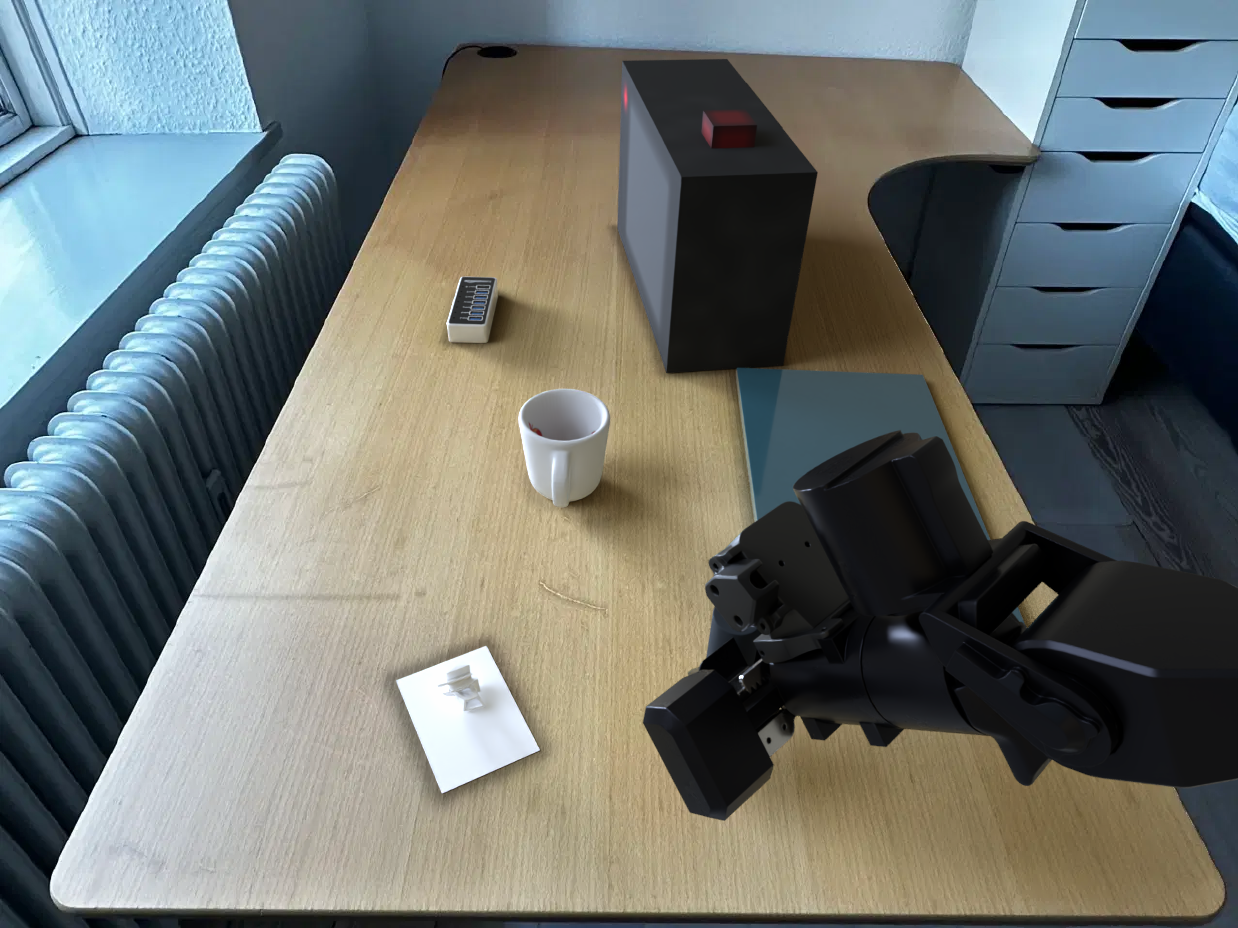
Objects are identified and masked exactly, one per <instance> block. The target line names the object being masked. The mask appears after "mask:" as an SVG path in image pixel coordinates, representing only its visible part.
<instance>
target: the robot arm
mask: <svg viewBox="0 0 1238 928" xmlns="http://www.w3.org/2000/svg"><path fill="white" fill-rule="evenodd" d="M793 490H794V492H795V494H796V496H797V498H798V500H799V502H800V504H801V505H800V504H798V503H796V502H791V501H788V502H784V503H782V504H780V505H779V506H777V507H776V508H774V509H773V510H771V511H770V512H769V513H767V514H766V515H764V516H763V517H761V518H760V519H758V520H757V521H754V522H753V523H751V524H750V525H748V526H747V527H745V528H744V529H742V531H741V532H739V534H738V535H736V537H735V538H734V539H732V541H730V543H728V544H727V546H726V547H724V548H723V549H722V550H720V551H719V552H718V553H716V554H715V555H713V556H712V557H710V558H709V559H708V567H709V569H710V570H711V572H712V573H713V576H712V577H711V578H710V579H709V580H708V581H707V582H706V583H704V591H705V594H706V597H707V599H708V600H709V602H711V604H712V605H713V607H715V608H716V609H717V610H718V612H719V613H720V614H721V615H722V617H723V618H724V619H725V621H726V622H727V623H728V625H729V626H730V627H731V628H732V629H734V630H736V631H739V632H744V631H745V630H746V629H748V628H749V627H750V626H752V627H756V628H757V629H758V630H759V631H760V636H759V637H757V638H756V639H755V640H754V641H753V642H754V644H755V646H756V648H757V651H756V656H755V661H754V665H753V666H751V667H749V666H748V664H747V662H746V660H745V658H744V656H743V654H742V653H741V651H740V649H739V647H738V645H737V643H736V641H735V639H734V638H731V639H730V640H729V641H727V642H726V643H725V644H724V645H722V646H721V647H720V648H718V649H717V650H716V651H715V652H713V653H712V654H711V655H709V656H708V657H707V658H706V657H705V658H704V659H703V660H702V661H700V664H699V665H698V666H697V667H694V668H691V669H690V670H689V671H687V675H685V676H684V677H682V678H681V679H680V680H678V681H677V682H675V683H674V684H673V685H671V687H669V688H668V689H666V690H665V691H664V692H663V693H661V694H660V695H659V696H657V697H656V698H654V699H653V700H652V701H651V702H650V703H647V705H646V706H645V709H644V714H643V720H642V725H643V726H644V728H645V730H646V733H647V734H648V736H649V738H650V740H651V741H652V743H653V745H654V748H655V749H656V751H657V753H658V754H659V757H660V759H661V762H663V764H664V766H665V769H666V770H667V772H668V774H669V776H670V778H671V780H672V782H673V783H674V785H675V787H676V790H677V791H678V793H679V795H680V797H681V799H682V802H683V803H684V805H685V806H686V808H687V811H688V813H690V814H693V815H697V816H702V817H705V818H709V819H713V820H718V821H724V822H725V821H726V820H727V819H728V818H729V817H731V816H732V815H733V814H734V813H735V812H736V811H737V810H738V809H739V808H740V807H741V806H743V804H744V803H746V802H747V801H748V800H749V799H750V798H751V797H753V795H755V793H756V792H758V791H759V790H760V789H761V788H762V787H763V786H764V785H765V784H766V783H767V782H768V781H769V780H770V779H771V777H772V773H773V769H774V766H775V764H774V762H773V760H772V758H771V757H772V756H773V755H774V754H775V753H776V752H778V750H780V749H781V748H782V747H783V746H784V745H785V744H786V743H787V742H788V741H790V740H791V739H792V737H793V736H794V734H795V730H796V725H795V720H796V718H797V717H800V720H801V721H802V724H803V726H804V728H805V729H806V731H807V733H808V735H809V737H810V739H811V740H816V741H826V740H828V738H829V737H831V736H832V735H833V734H834V733H835V732H836V731H837V730H838V729H839V728H840V727H841V726H842V725H849V726H860V729H861V730H862V732H863V733H864V735H865V737H866V739H867V742H868V744H869V745H870V746H872V747H880V748H887V747H888V746H889V745H890V744H891V743H892V742H894V741H895V740H896V738H897V737H898V736H899V735H901V733H902V732H903V731H904V730H912V731H923V732H933V733H946V734H947V733H948V734H958V735H959V734H961V735H971V736H984V737H991V738H992V739H993V740H994V741H995V742H996V744H997V746H998V748H999V749H1000V752H1001V754H1002V756H1003V757H1004V759H1005V761H1006V763H1007V766H1008V768H1009V770H1010V772H1011V774H1012V775H1013V777H1014V779H1015V781H1016V782H1018V784H1020V785H1021V786H1024V787H1030V786H1032V785H1034V783H1035V782H1036V780H1037V779H1038V778H1039V777H1040V775H1041V774H1042V773H1043V772H1044V771H1045V769H1046V768H1047V767H1048V766H1049V764H1050V763H1051V762H1052V761H1053V762H1055V763H1057V764H1058V765H1060V766H1062V767H1064V768H1067V769H1069V770H1073V771H1074V772H1078V773H1080V774H1082V775H1084V776H1088V777H1093V778H1098V779H1103V780H1110V781H1111V780H1112V781H1117V782H1118V781H1120V782H1128V783H1136V784H1144V785H1150V786H1151V785H1153V786H1160V787H1168V788H1169V787H1171V788H1177V789H1193V788H1199V787H1205V786H1210V785H1211V786H1212V785H1215V784H1216V785H1217V784H1222V783H1227V782H1233V781H1238V587H1237V586H1236V585H1234V584H1231V583H1230V582H1229V581H1226V580H1223V579H1221V578H1217V577H1212V576H1211V577H1210V576H1207V575H1202V574H1196V573H1191V572H1187V571H1181V570H1177V569H1172V568H1167V567H1163V566H1162V567H1161V566H1157V565H1151V564H1147V563H1141V562H1138V561H1132V560H1131V561H1130V560H1123V559H1122V560H1116V559H1115V558H1112V557H1110V556H1108V555H1106V554H1103V553H1101V552H1098V551H1095V550H1094V549H1091V548H1090V547H1087V546H1085V545H1082V544H1080V543H1078V542H1076V541H1073V540H1071V539H1069V538H1066V537H1065V536H1061V535H1059V534H1057V533H1054V532H1052V531H1050V530H1049V529H1048V530H1047V529H1045V528H1044V527H1041V526H1038V525H1036V524H1034V523H1032V522H1030V521H1026V520H1021V521H1020V522H1018V523H1017V524H1015V525H1014V526H1013V527H1012V528H1011V529H1010V530H1009V531H1008V532H1007V533H1006V534H1004V536H1003V537H1001V538H1000V537H999V538H995V539H994V538H993V539H990V540H987V538H986V536H985V534H984V532H983V529H982V527H981V525H980V523H979V521H978V519H977V517H976V515H975V513H974V511H973V509H972V507H971V505H970V503H969V501H968V499H967V497H966V495H965V493H964V491H963V489H962V487H961V484H960V482H959V479H958V475H957V471H956V467H955V464H954V462H953V459H952V457H951V455H950V453H949V451H948V449H947V447H946V445H945V443H944V441H943V439H941V438H939V437H938V436H934V437H931V438H927V439H923V440H922V439H921V437H920V435H919V434H918V433H905V434H902V432H901V430H898V431H894V432H890V433H887V434H885V435H882V436H879V437H876V438H873V439H871V440H868V441H866V442H863V443H861V444H859V445H857V446H854V447H852V448H850V449H848V450H846V451H844V452H842V453H840V454H838V455H836V456H834V457H832V458H830V459H828V460H826V461H825V462H823V463H821V464H820V465H818V466H816V467H815V468H813V469H812V470H810V471H809V472H807V473H806V474H804V475H803V476H802V477H801V478H800V479H798V480H797V481H796V483H795V484H794V485H793ZM1042 583H1043V584H1044V585H1046V586H1047V587H1048V588H1049V589H1050V590H1052V591H1053V592H1054V593H1055V594H1057V595H1056V597H1055V598H1054V599H1053V600H1052V601H1051V602H1050V603H1049V604H1048V605H1046V607H1045V608H1044V609H1043V611H1041V612H1040V613H1039V615H1038V616H1037V617H1036V618H1035V619H1034V620H1033V621H1032V622H1031V623H1030V624H1029V626H1027V625H1026V623H1025V622H1024V623H1025V624H1024V623H1023V622H1019V620H1018V619H1017V618H1016V616H1015V615H1014V614H1013V613H1012V612H1013V611H1014V610H1015V609H1016V608H1017V607H1018V608H1019V606H1021V604H1022V603H1023V602H1024V601H1026V599H1027V598H1028V597H1029V596H1031V594H1032V593H1033V592H1034V591H1035V590H1036V589H1037V588H1038V587H1039V586H1040V585H1041V584H1042Z"/></svg>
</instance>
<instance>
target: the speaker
mask: <svg viewBox="0 0 1238 928" xmlns="http://www.w3.org/2000/svg"><path fill="white" fill-rule="evenodd" d="M620 90H621V91H620V93H621V94H620V95H621V96H620V98H621V99H620V120H619V121H620V127H619V155H618V156H619V159H618V162H619V163H618V188H617V189H618V191H617V192H618V193H617V197H618V198H617V221H616V222H617V225H616V228H617V232H618V235H619V237H620V238H619V239H620V240H621V243H622V246H623V248H624V253H625V256H626V258H627V262H628V264H629V267H630V271H631V273H632V275H633V279H634V282H635V285H636V287H637V291H638V294H639V297H640V299H641V303H642V306H643V308H644V311H645V314H646V317H647V320H648V323H649V327H650V329H651V332H652V336H653V338H654V341H655V343H656V346H657V350H658V353H659V355H660V358H661V361H662V365H663V367H664V370H665V373H666V374H673V373H691V372H706V371H719V370H720V371H721V370H734V369H735V370H737V368H764V367H766V368H767V367H780V366H781V367H783V366H784V363H785V358H786V352H787V347H788V341H789V337H790V330H791V325H792V324H791V323H792V318H793V313H794V307H795V302H796V297H797V291H798V286H799V285H798V284H799V279H800V273H801V268H802V264H803V263H802V262H803V256H804V252H805V246H806V240H807V235H808V229H809V224H810V219H811V213H812V208H813V206H812V205H813V203H814V202H813V201H814V195H815V190H816V184H817V179H818V173H819V172H818V170H817V169H816V168H815V167H814V166H813V164H812V163H811V162H810V160H808V157H806V155H805V154H804V153H803V152H802V150H801V149H800V148H799V147H798V145H797V144H796V143H795V141H794V140H793V139H792V138H791V136H789V134H788V133H787V132H786V130H785V129H784V128H783V126H782V125H781V123H780V122H779V121H778V120H777V118H776V117H775V116H774V114H772V112H771V111H770V110H769V109H768V107H767V105H765V104H764V102H763V101H762V100H761V99H760V97H759V96H758V95H757V93H756V92H755V91H754V89H752V87H751V86H750V84H749V83H747V82H746V80H745V79H744V78H743V77H742V76H741V74H740V73H739V72H738V70H737V69H736V68H735V67H734V66H733V64H732V63H731V62H730V61H729V59H728V58H703V59H702V58H701V59H698V58H697V59H644V60H643V59H642V60H641V59H639V60H637V59H636V60H622V62H621V89H620Z"/></svg>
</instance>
